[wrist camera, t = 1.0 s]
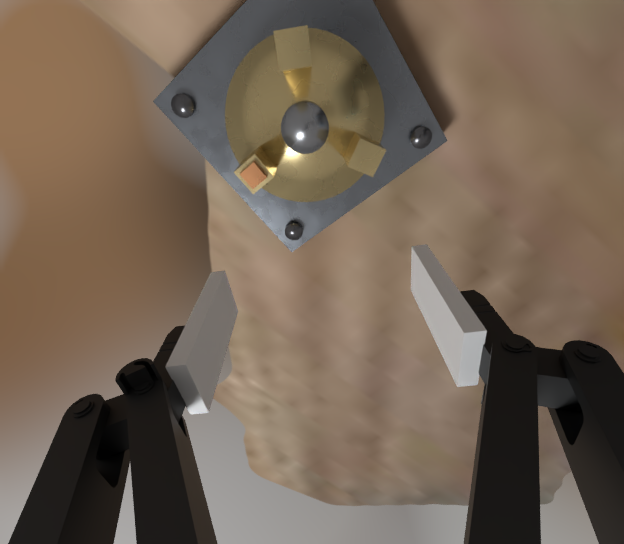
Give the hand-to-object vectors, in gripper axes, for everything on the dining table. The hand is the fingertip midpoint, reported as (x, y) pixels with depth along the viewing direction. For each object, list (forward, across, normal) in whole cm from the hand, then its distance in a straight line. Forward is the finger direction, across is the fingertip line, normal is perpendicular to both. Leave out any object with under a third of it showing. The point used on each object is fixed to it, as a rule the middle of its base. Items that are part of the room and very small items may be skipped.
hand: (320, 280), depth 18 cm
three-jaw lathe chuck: (+19, 0, +6) cm, 20 cm away
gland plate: (+22, 0, +6) cm, 22 cm away
